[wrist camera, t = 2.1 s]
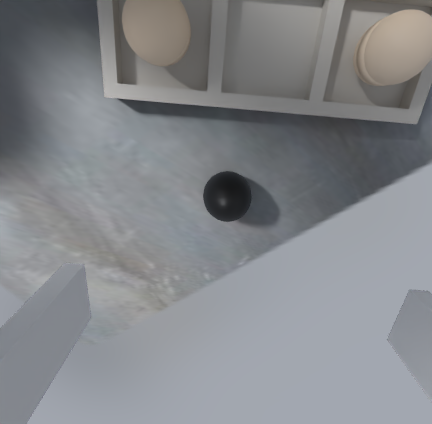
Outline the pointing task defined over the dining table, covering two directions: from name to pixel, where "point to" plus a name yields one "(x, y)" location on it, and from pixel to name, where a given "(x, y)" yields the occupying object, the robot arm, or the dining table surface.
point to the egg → (227, 196)
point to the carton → (272, 55)
